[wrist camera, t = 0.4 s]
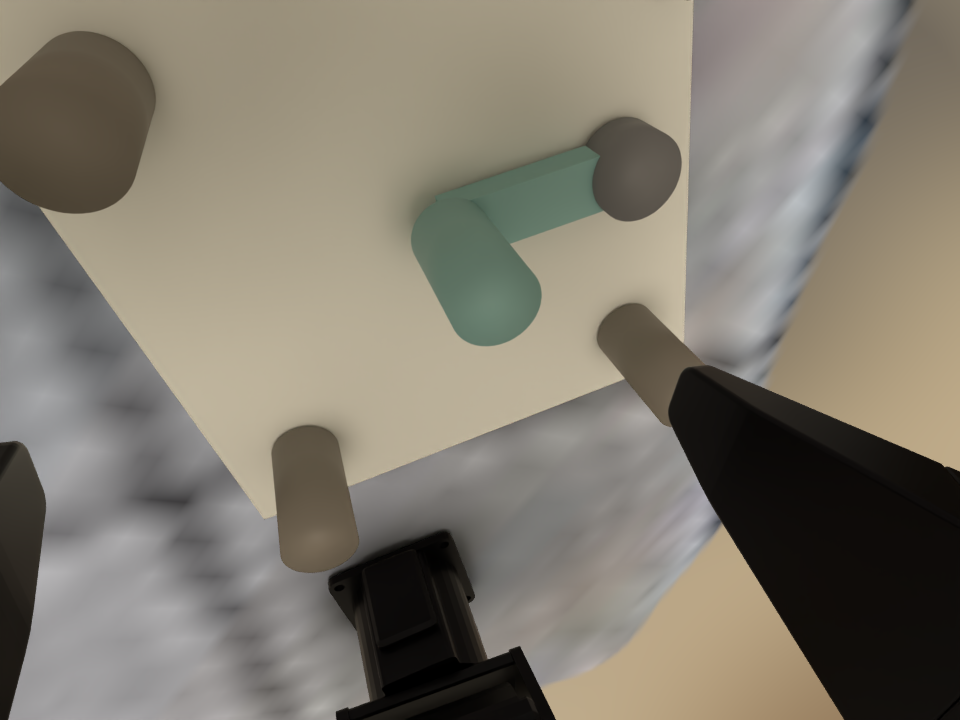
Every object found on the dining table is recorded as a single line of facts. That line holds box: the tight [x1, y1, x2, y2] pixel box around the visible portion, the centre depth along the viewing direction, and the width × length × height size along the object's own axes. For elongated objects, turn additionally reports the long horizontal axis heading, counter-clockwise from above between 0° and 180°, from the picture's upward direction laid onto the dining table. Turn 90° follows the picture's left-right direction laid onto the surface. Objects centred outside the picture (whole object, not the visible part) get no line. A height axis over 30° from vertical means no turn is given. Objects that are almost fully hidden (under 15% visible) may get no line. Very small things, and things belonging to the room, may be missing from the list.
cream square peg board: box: [0, 0, 705, 573], centre depth 19 cm, size 18×18×6 cm
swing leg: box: [411, 117, 682, 346], centre depth 18 cm, size 9×3×5 cm, turn 101°
